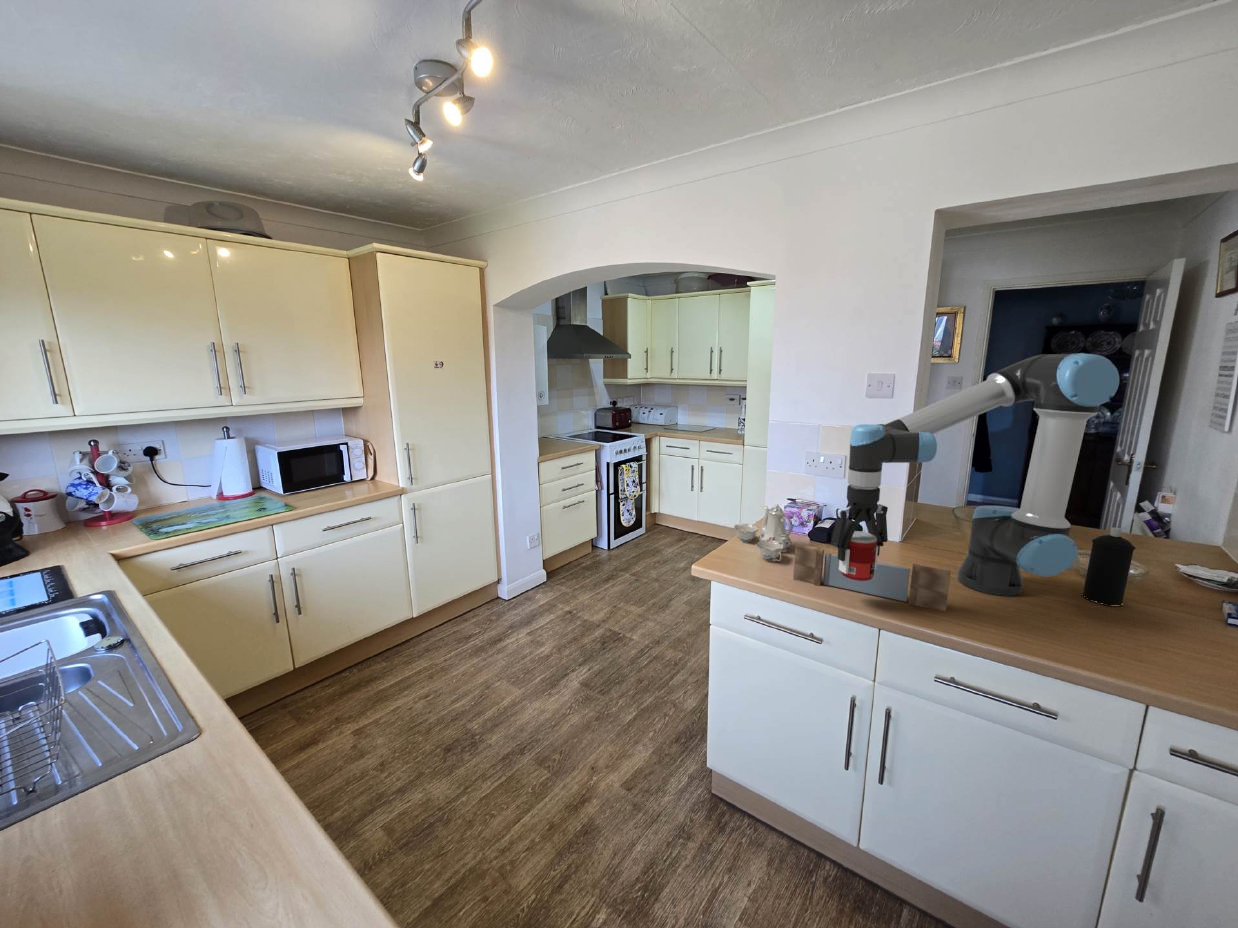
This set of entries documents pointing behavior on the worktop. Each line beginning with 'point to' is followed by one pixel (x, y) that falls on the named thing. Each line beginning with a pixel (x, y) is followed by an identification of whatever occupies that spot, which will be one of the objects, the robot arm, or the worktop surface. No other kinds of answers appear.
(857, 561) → the canned food
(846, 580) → the door leaf
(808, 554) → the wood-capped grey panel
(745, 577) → the worktop surface
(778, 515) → the chinaware
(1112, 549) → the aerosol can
